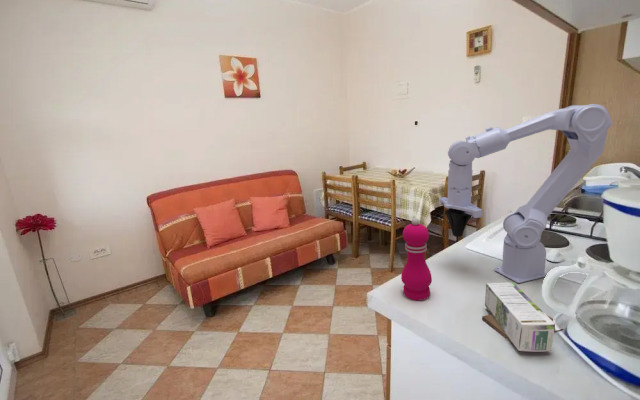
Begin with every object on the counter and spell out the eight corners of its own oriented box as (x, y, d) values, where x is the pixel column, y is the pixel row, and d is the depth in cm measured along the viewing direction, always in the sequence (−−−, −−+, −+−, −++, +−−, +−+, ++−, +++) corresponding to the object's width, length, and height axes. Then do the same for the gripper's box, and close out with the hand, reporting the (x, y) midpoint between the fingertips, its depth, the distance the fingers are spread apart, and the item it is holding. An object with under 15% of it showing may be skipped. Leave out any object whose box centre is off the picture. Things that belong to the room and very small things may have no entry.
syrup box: (510, 304, 68) (554, 352, 54) (483, 305, 68) (519, 352, 54) (512, 281, 66) (558, 324, 52) (484, 282, 67) (522, 325, 53)
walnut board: (527, 306, 68) (527, 303, 67) (563, 329, 60) (564, 325, 60) (482, 319, 65) (482, 316, 65) (514, 344, 57) (514, 340, 57)
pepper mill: (428, 304, 72) (428, 224, 67) (398, 298, 75) (396, 221, 70) (434, 289, 78) (434, 214, 73) (405, 284, 81) (403, 212, 76)
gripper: (429, 184, 86) (429, 229, 89) (466, 194, 72) (463, 247, 76) (451, 181, 88) (449, 225, 91) (490, 191, 74) (487, 243, 77)
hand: (457, 235), depth 83 cm, fingers closed
